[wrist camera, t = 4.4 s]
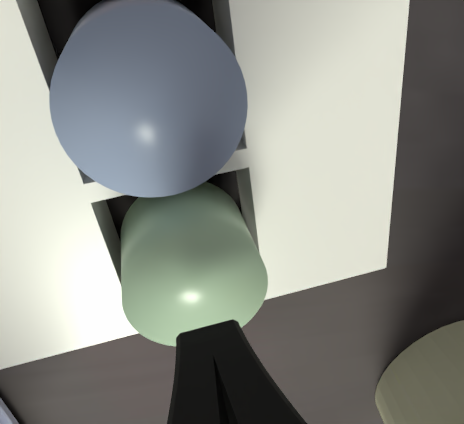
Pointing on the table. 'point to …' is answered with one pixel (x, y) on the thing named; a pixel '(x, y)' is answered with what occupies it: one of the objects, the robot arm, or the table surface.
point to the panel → (242, 160)
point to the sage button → (188, 264)
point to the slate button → (147, 98)
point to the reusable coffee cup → (425, 381)
